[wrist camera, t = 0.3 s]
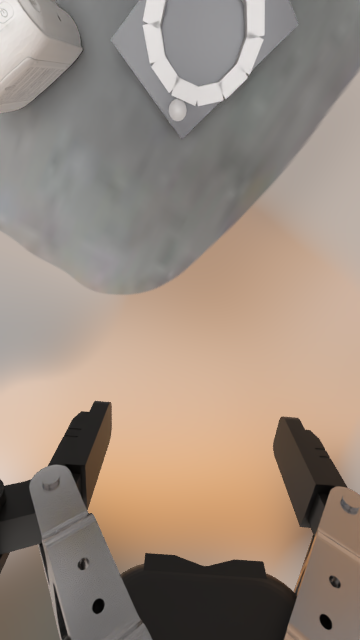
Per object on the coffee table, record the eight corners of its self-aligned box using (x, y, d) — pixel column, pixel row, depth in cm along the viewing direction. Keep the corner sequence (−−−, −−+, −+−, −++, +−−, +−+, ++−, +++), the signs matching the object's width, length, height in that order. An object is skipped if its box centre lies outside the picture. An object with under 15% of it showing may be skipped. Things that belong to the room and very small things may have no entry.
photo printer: (59, -9, 25) (-18, -61, 15) (92, 49, 27) (44, 36, 18) (-17, 70, 28) (-116, 68, 19) (19, 116, 31) (-54, 134, 21)
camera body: (120, 44, 27) (106, 37, 22) (226, -97, 22) (238, -144, 17) (182, 132, 31) (182, 142, 27) (282, 32, 26) (304, 22, 22)
